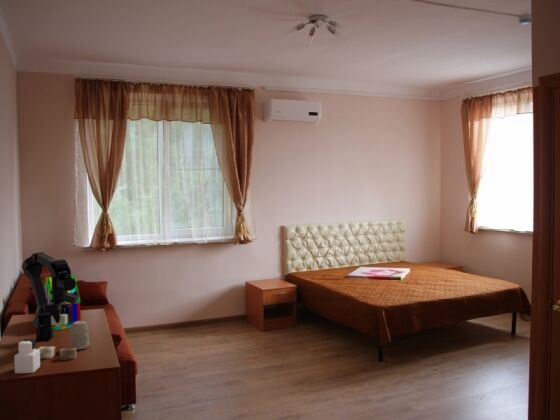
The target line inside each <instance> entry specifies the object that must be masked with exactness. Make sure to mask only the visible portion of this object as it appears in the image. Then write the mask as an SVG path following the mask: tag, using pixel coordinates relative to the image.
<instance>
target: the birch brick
mask: <svg viewBox="0 0 560 420" xmlns="http://www.w3.org/2000/svg"><path fill="white" fill-rule="evenodd" d="M36 350H40V359H52V357H53V358H54V357H55V356H56V346H40V347H38V348H36Z"/></svg>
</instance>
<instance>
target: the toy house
mask: <svg viewBox="0 0 560 420" xmlns="http://www.w3.org/2000/svg"><path fill="white" fill-rule="evenodd" d="M71 276H72V278H73V279H74V280H75V281H76V275H75V274H71ZM76 282H77V281H76ZM43 287H44V290H45V294H46V298H47V301H48V303H53V302H50V300H51V299H52V293H50V291H51V290H52V282H51V277H50V276H49V277H46V280H45V284H44V286H43ZM75 291H77V292H78V293H79V294H80V292H79V289H78V285H77V283H76V286H75V288H74V289H73V290H71V291H68V292H69V293H73V292H75ZM67 304H69V305H68V306H67V307H66V309H65V312H64V314H68V323H67V324H65V325H52V328H53V332H55V331H60V330H66V329H72V324H73V323H74V322H76V321H82V320H81V298H79V299H78V301H77V303H75V304H71V303H68V302H67Z"/></svg>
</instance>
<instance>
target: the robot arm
mask: <svg viewBox="0 0 560 420" xmlns="http://www.w3.org/2000/svg"><path fill="white" fill-rule="evenodd" d="M43 267H46V268H47V271H48V272H49V273H50V274H49V277H51V282H52V290H51V291H50V293H52V299H51V300H50V302H53V303H48V301H47V298H46V294H45V290H44V287H45V286H44V283H43V280H42V273H43V270H44V269H43ZM21 269H22V272H23V274H24V275H25V276H26V278H28V279H29V281H30V285H31V288H32V293H33V297H34V300H35V304H36V310H35V313H34V315H35V317H34V319H33V320H32V323H31V324H32V327H33V328H34V329H35V334H36V335H35V337H36V338H35V339H34V340H35V342H42V341H43V342H49V341H50V340H52V339H53V338H54V337H55V335H54V331H53V328H52V325H51V316H53V318H54V320H55V321H56V323H59V320H60V314H64V312H65V309H66V307H67V306H68V305H69V304H67V302H68V303H71V304H75V303H77V301H78V299H79V298H80V292H79V291H78V292H79V293H78V292H77V291H75V292H73V293H69V292H68V291H71V290H73V289H74V288H75V286H76V284H77V281H75V280H76V279H75V280H74V279H73V278H72V276H71V275H72V270H71V268H70V266H69V263H68V262H67V261H66V259H63V258H54V257H52V256H50V255H49V254H46V253H45V252H43V251H42V252H39V251H38V252H34V253H32V254H30V256H29V257H27V258H26V259H24V260H23V262H22V264H21ZM80 299H81V298H80Z"/></svg>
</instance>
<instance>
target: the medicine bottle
mask: <svg viewBox="0 0 560 420" xmlns="http://www.w3.org/2000/svg"><path fill="white" fill-rule="evenodd" d="M13 360H14V363H13V364H14V374H34V373H35V372H36V371H37V370H38V369H39V368H40V367H41V358H40V350H37V348H36V341H35V339H33V338H26V339H22V340H20V341H19V342H18V352H17V354H15V355H14V358H13Z"/></svg>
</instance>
